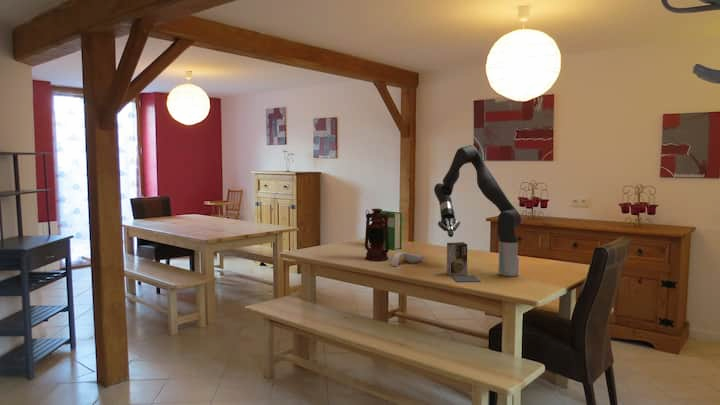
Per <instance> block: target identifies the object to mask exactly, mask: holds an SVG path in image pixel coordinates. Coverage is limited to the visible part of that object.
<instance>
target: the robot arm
mask: <svg viewBox="0 0 720 405" xmlns="http://www.w3.org/2000/svg"><path fill="white" fill-rule="evenodd" d="M470 163H471V164H472V166H473V167H474V169H475V171H476V182H477V183H476V184H477V187H478V189H479V190H480V191H481V194H483V196H484V197H485V198H486V199H487V200H488V201H490V202H491V203H492V204H494V206H496V208H497V209H498V210H499V212H500V213H499V214H498V215H497V216H498V217H497V236H498V266H497V267H498V269H497V271H498V275H500V276H504V277H515V276H519V260H520V259H519V256H518V252H519V250H518V246H519V244H518V243H519V242H518V241H519V237H518V236H517V235H516V234H515V228H517V227H519V226H520V224H521V222H522V217H521V214H520V212H519V211H518V210H517V209H516V207H515V206H513V204H512V203H511V202H510V200H509V198H507V196H506V194H505V192H504V191H503V190H502V188H501V187H500V184H498V182H497V181H496V179H495V177H494V176H493V174H492V173H491V171H490V169H489V168H488V167H487V165H486V163H485V162H484V160H483V158H482V155H481V154H480V151H479V150H478V149H477V147H476V146H474V145H470V144H469V145H465V146H462V147H459V148H458V149H457V150H456V152H455V154H454V157H453V158H452V162H451V164H450V167H449V169H448V170H447V173H446V174H445V175H444V177H443V179H442V183H441V182H440V183H436V184H435V186H434V188H433V189H434V190H433V192H434V195H435V197H436V198H437V200H438V202H439V212H440V217H441V218H440V219H441V220H440V221H438V223H437V226H438V227H439V228H441V229H442V231H444V232H447V236H448V237H449V238H453V237H454V232H456V230H457V229H458V228H459V227H460V225H461V221H459V220H457V219H456V217H455V211H454V210H455V209H454V207H453V201H452V198H451V196H452V194H453V189H454V187H455V186H454V185H455V184H456V183H457V181H458V180H459V178H460V170H461V168H462V167H463V166H464V165H466V164H470Z"/></svg>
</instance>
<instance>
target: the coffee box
mask: <svg viewBox="0 0 720 405" xmlns="http://www.w3.org/2000/svg"><path fill="white" fill-rule="evenodd" d="M446 273H447V274H448V275H449V276H451V275H468V243H465V242H464V241H463V242H461V241H459V242H457V241H456V242H447V243H446Z"/></svg>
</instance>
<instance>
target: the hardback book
mask: <svg viewBox="0 0 720 405" xmlns="http://www.w3.org/2000/svg"><path fill="white" fill-rule="evenodd" d="M380 212H381V213H382V214H383V215H387V214H388V213H387V212H389V219H388V236H389V251H390V250H391V251H396V249H398V250H401V249H402V248H403V247H402V243H403V241H402V238H403V237H402V234H403V232H402V230H403V229H402V228H403V212H398V211H388V210H382V211H380ZM386 213H387V214H386ZM382 219H383V218H382ZM383 220H384V219H383ZM383 248H384V249H386V242H385V243H383Z"/></svg>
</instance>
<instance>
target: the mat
mask: <svg viewBox="0 0 720 405" xmlns="http://www.w3.org/2000/svg"><path fill="white" fill-rule="evenodd" d="M450 276H452V277H451V278H452V279H453V280H454V281H455V283H481V282H482V281H481V280H480V279H479V278H478V277H477V276H476V275H475V274H474V275H473V274H472V275H470V274H467V275H450Z"/></svg>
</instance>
